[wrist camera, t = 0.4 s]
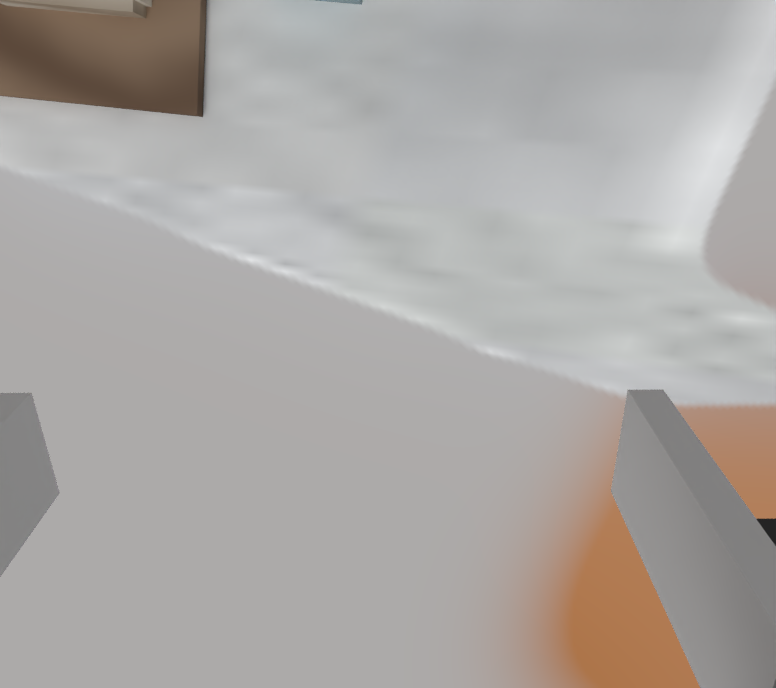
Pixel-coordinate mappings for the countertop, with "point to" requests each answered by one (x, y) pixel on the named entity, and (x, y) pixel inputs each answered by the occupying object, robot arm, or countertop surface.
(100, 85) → the board
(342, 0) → the blue-grey tall block
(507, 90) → the countertop surface
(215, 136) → the countertop surface
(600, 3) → the countertop surface
